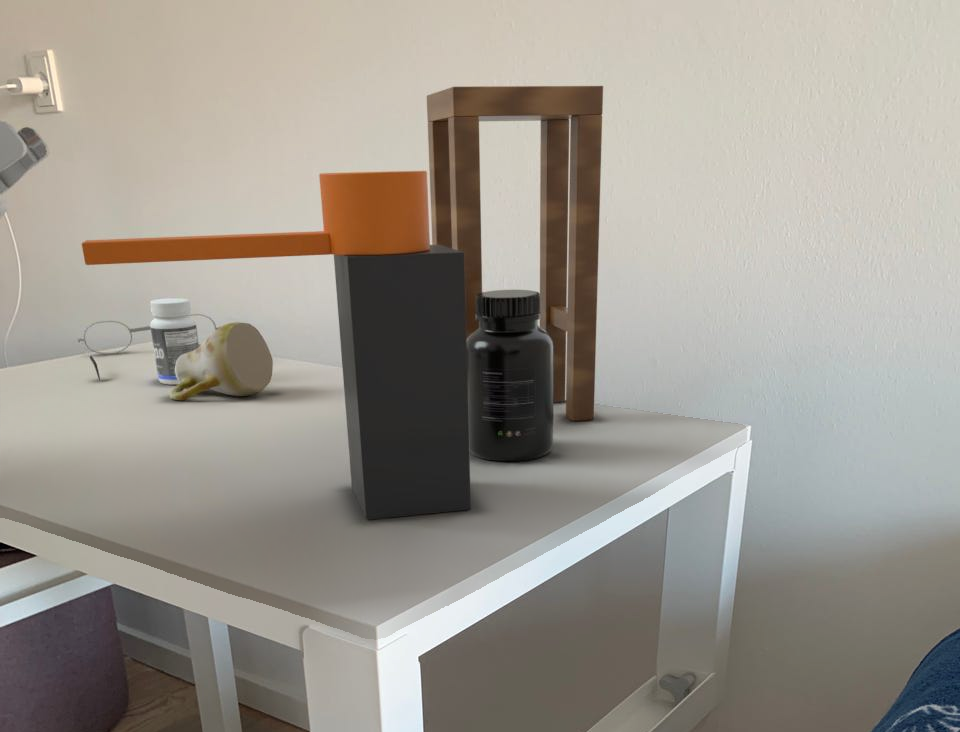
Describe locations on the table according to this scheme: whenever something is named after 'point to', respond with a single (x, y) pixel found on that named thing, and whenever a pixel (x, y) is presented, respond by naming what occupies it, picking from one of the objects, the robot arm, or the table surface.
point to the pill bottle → (171, 335)
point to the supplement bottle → (509, 378)
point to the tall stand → (461, 211)
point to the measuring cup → (347, 231)
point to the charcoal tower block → (405, 380)
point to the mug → (225, 363)
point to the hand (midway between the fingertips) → (30, 136)
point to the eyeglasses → (129, 342)
